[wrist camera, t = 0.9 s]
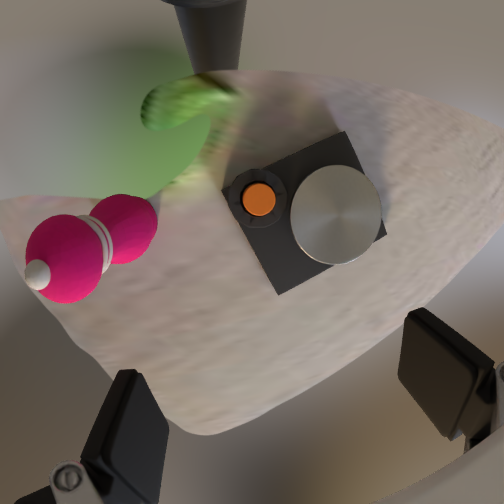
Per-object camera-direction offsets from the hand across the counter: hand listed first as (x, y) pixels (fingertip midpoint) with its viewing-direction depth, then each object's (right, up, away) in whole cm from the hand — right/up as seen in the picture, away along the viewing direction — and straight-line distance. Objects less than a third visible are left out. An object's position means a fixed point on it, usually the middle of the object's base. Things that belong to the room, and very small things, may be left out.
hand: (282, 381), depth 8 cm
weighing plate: (+8, +8, +21) cm, 24 cm away
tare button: (0, +10, +20) cm, 23 cm away
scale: (+6, +9, +24) cm, 26 cm away
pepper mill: (-15, +8, +23) cm, 28 cm away
